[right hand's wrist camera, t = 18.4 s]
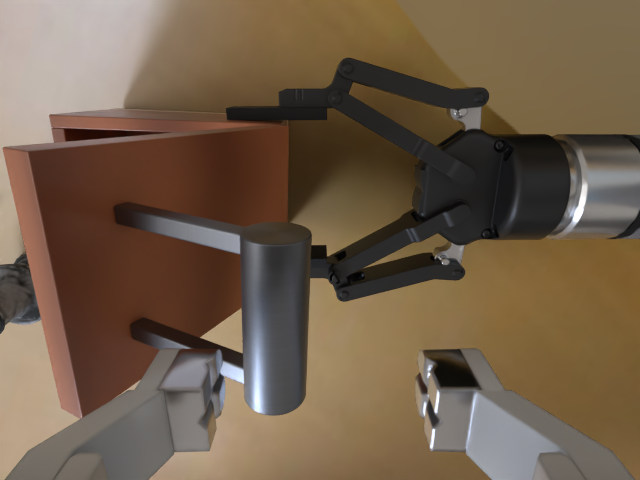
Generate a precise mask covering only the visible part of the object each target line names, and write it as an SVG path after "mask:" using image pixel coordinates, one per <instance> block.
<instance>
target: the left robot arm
mask: <svg viewBox="0 0 640 480" xmlns="http://www.w3.org/2000/svg"><path fill="white" fill-rule="evenodd" d="M353 82H355V83H358V84H361V85H365V86H368V87H371V88H375V89H378V90H381V91H385V92H388V93H391V94H395V95H398V96H401V97H405V98H408V99H411V100H415V101H418V102H421V103H425V104H428V105H432V106H436V107H442V108H447V115H448V117H449V118H450V119H453V120H457V121H459V123H460V124H461V129H460V130H459V131H457V132H456V133H454V134H453V135H452V136H450V137H449V138H447V139H446V140H444V141H443V142H442V143H440V144H439V145H437V146H434V145H433V144H431V143H429V142H428V141H426V140H424V139H422V138H421V137H419V136H417V135H416V134H414V133H412V132H411V131H409V130H407V129H406V128H404V127H402V126H401V125H399V124H398V123H396V122H394V121H393V120H391V119H389V118H388V117H386V116H384V115H383V114H381V113H379V112H378V111H376V110H374V109H373V108H371V107H369V106H368V105H366V104H364V103H363V102H361V101H359V100H358V99H356V98H354V97H353V96H351V95H349V91H350V88H351V86H352V83H353ZM488 99H489V93H488V91H487V90H486V89H485V88H456V89H450V88H447V87H443V86H440V85H437V84H434V83H430V82H427V81H424V80H421V79H417V78H414V77H411V76H408V75H404V74H401V73H398V72H395V71H391V70H388V69H385V68H382V67H378V66H375V65H372V64H369V63H365V62H362V61H359V60H356V59H352V58H345V59H343V60H342V61H341V62H340V63H339V65H338V67H337V70H336V73H335V76H334V79H333V81H332V83H331V85H330V86H328V87H327V88H323V89H285V90H282V91H280V92H279V106H243V107H230V108H226V115H227V120H327V108H335V109H336V110H338V111H340V112H341V113H343V114H345V115H347V116H348V117H350V118H352V119H353V120H355V121H357V122H358V123H360V124H362V125H363V126H365V127H367V128H368V129H370V130H372V131H374V132H375V133H377V134H379V135H380V136H382V137H384V138H385V139H387V140H389V141H390V142H392V143H394V144H395V145H397V146H399V147H401V148H402V149H404V150H406V151H407V152H409V153H411V154H412V155H414V156H416V157H417V158H419V159H420V160H419V162H418V164H417V165H415V172H414V176H415V181H416V188H415V191H414V193H413V198H412V206H413V207H414V209H412V210H410V211H409V212H407V213H405V214H403V215H402V216H401V218H400V219H398V220H396V221H394V222H393V223H391V224H389V225H387V226H385V227H383V228H381V229H379V230H377V231H376V232H374V233H372V234H370V235H368V236H366V237H364V238H362V239H360V240H358V241H357V242H355V243H353V244H351V245H349V246H347V247H345V248H343V249H341V250H340V251H338V252H336V253H334V254H332V255H330V256H327V249H326V245H311V267H310V278H326V279H328V280H329V282H330V283H331V284H332V285H333V286H334V289H335V291H336V295H337V298H338V299H339V300H340V301H343V302H344V301H349V300H353V299H357V298H361V297H365V296H369V295H373V294H377V293H381V292H385V291H389V290H393V289H397V288H401V287H404V286H408V285H412V284H416V283H420V282H424V281H428V280H432V279H442V280H460V279H462V278H463V277H464V275H465V270H464V268H463V267H462V266H461V261H462V256H463V252H464V247H465V245H467V244H470V243H471V242H474V241H476V240H480V239H490V240H538V239H542V238H545V237H546V238H548V239H552V240H568V239H640V135H619V134H613V135H577V134H574V135H573V134H567V135H566V134H565V135H555V136H553V137H551V136H549V135H545V134H514V135H492V134H488V133H486V132H484V131H483V130H481V129H480V126H481V109H482V106H484V105H485V104H486V103H487V101H488ZM437 233H439V234H440V235H441V236H443V237H444V238H445V239H447V240H448V242H447V244H446V245H444V246H442V247H436V248H435V249H434V250H433V252H432V253H421V254H417V255H413V256H409V257H405V258H401V259H397V260H394V261H390V262H386V263H382V264H378V265H375V266H371V267H367V268H364V267H366V266H368V265H370V264H372V263H374V262H376V261H378V260H380V259H382V258H383V257H385V256H387V255H389V254H391V253H393V252H395V251H397V250H399V249H401V248H403V247H405V246H407V245H409V244H411V243H413V242H421V241H423V240H425V239H427V238H429V237H431V236H433V235H435V234H437ZM362 268H363V269H362Z"/></svg>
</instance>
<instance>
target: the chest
mask: <svg viewBox="0 0 640 480" xmlns="http://www.w3.org/2000/svg"><path fill="white" fill-rule="evenodd" d="M49 117H50V122H51V127H52V134H53V139H54V143H57V142H69V141H81V140H93V139H104V138H116V137H128V136H140V135H152V134H164V133H175V132H187V131H199V130H211V129H223V128H234V127H246V126H258V125H270V124H272V125H284V126H288V120H227V115H226V113H213V112H189V111H166V110H142V109H110V110H98V111H86V112H75V113H63V114H51V115H49Z"/></svg>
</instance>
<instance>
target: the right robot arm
mask: <svg viewBox="0 0 640 480" xmlns="http://www.w3.org/2000/svg"><path fill="white" fill-rule="evenodd" d="M222 364H223V360H222V352H221V351H220V349H180V348H163V349H161V350H160V351H159V352H158V353H157V355H156V356H155V358H154V360H153V361H152V363H151V364H150V366H149V368H148V369H147V371H146V372H145V374H144V376H143V377H142V379H141V380H140V382H139V384H138V385H137V387H136V388H135V390H128V391H126V392H125V393H123V394H121V395H120V396H118V397H116V398H115V399H113V400H111V401H110V402H108V403H106V404H105V405H103V406H101V407H100V408H98V409H97V410H95V411H93V412H92V413H90V414H88V415H87V416H85V417H83V418H82V419H80V420H78V421H77V422H75V423H73V424H72V425H70V426H68V427H67V428H65V429H63V430H62V431H60V432H58V433H57V434H55V435H53V436H52V437H50V438H48V439H47V440H45V441H43V442H42V443H40V444H38V445H37V446H35V447H33V448H32V449H30V450H29V451H28V452H27V453H26V454H25V455H24V457H23V458H22V459H21V460H20V461H19V463H18V464H17V465H16V466H15V468H14V469H13V470H12V471H11V472H10V474H9V475H8V476H7V477H6V479H5V480H149V479H150V478H151V477H152V476H153V475H154V474H155V473H156V472H157V471H158V470H159V469H160V468H161V467H162V466H163V465H164V464H165V463H166V462H167V461H168V460H169V459H170V458H171V457H172V456H173V455H174V452H195V451H210V448H211V445H212V442H213V438H214V435H215V432H216V418H218V417H219V416H220V415H221V412H222V409H223V405H224V398H225V379H224V376H223V375H222V374H221V373H220V370H221V367H222ZM417 364H418V367H419V370H420V373H419V374H418V375H417V376H416V379H415V399H416V405H417V409H418V412H419V415H420V416H421V417H422V418H424V432H425V435H426V438H427V442H428V445H429V448H430V451H444V452H466V454H467V455H468V456H469V457H470V458H471V459H472V460H473V461H474V462H475V463H476V464H477V465H478V466H479V467H480V468H481V469H482V470H483V471H484V472H485V473H486V474H487V475H488V476H489V477H490V478H491V479H492V480H635V478H634V477H633V476H632V475H631V474H630V472H629V471H628V470H627V469H626V467H625V466H624V465H623V464H622V462H621V461H620V460H619V459H618V458H617V456H616V455H615V454H614V453H613V451H611V450H610V449H608V448H606V447H605V446H603V445H601V444H600V443H598V442H596V441H595V440H593V439H591V438H590V437H588V436H586V435H585V434H583V433H581V432H580V431H578V430H576V429H575V428H573V427H571V426H570V425H568V424H567V423H565V422H563V421H562V420H560V419H558V418H557V417H555V416H553V415H552V414H550V413H548V412H547V411H545V410H543V409H542V408H540V407H538V406H537V405H535V404H533V403H532V402H530V401H529V400H527V399H525V398H524V397H522V396H520V395H519V394H517V393H515V392H514V391H512V390H505V388H504V387H503V385H502V384H501V382H500V381H499V379H498V377H497V376H496V374H495V373H494V371H493V369H492V368H491V366H490V365H489V363H488V362H487V360H486V358H485V357H484V355H483V354H482V352H481V351H480V350H479V349H477V348H467V349H441V350H419V353H418V359H417Z"/></svg>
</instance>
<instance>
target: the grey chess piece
mask: <svg viewBox="0 0 640 480" xmlns="http://www.w3.org/2000/svg"><path fill="white" fill-rule="evenodd" d="M39 320H41V316H40V312H39V307H38V303H37V298H36V294H35V290H34V285H33V281H32V276H31V272H30V267H29V263H28V259H27V254H24V255H22V256H20V257H19V258H18V259H17V260H16V261H15V263H14V264H5V265H0V334H1V333H2V331H3V330H4V327H5V325H6V324H7V323H9V322H11V323H15V324H22V325H23V324H32V323H35V322H38V321H39Z"/></svg>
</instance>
